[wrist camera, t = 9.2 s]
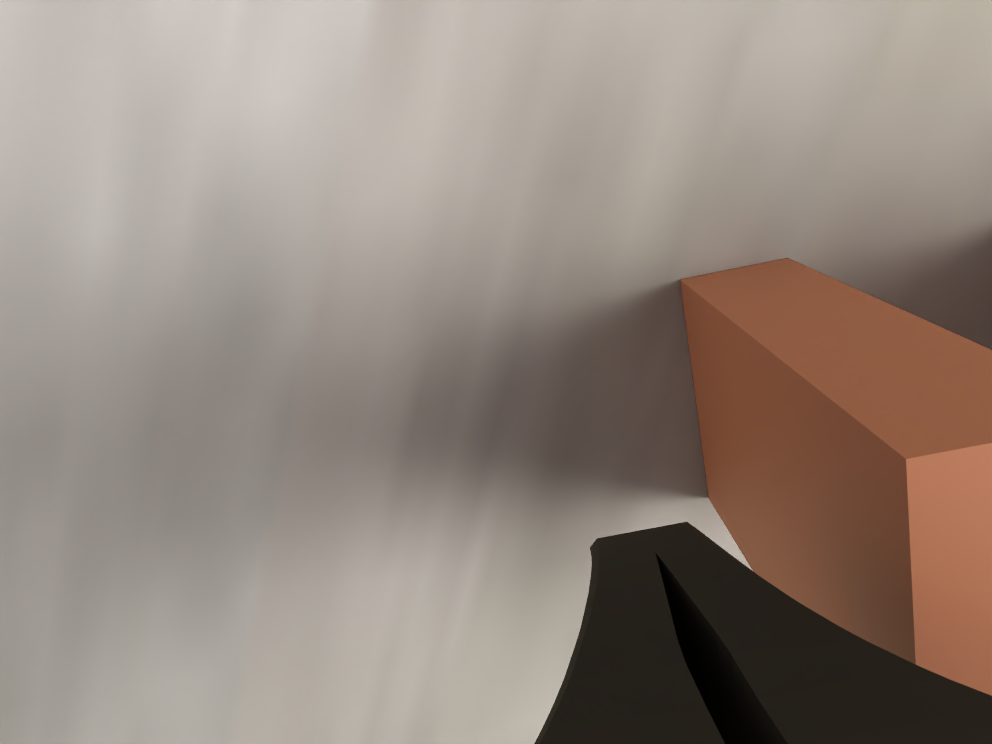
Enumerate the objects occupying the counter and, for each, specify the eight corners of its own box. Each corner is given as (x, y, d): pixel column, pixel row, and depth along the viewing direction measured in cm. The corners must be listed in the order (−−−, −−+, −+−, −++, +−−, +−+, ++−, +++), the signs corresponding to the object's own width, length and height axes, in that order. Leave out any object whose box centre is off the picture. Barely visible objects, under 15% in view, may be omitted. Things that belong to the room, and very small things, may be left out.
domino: (787, 258, 16) (1137, 415, 8) (807, 479, 18) (1117, 818, 9) (679, 279, 16) (906, 459, 8) (708, 498, 18) (925, 851, 9)
